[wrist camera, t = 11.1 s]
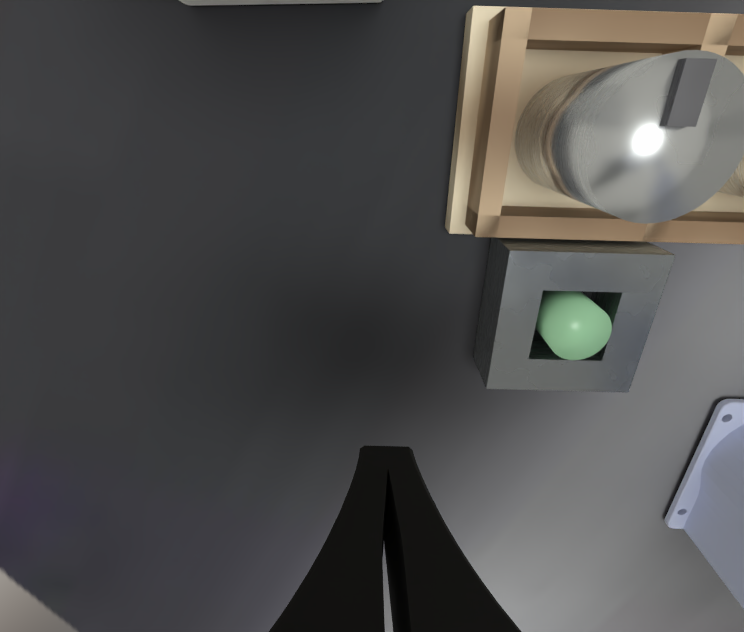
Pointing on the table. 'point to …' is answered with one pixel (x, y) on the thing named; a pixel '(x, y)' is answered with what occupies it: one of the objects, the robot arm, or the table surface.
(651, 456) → the table surface
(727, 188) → the cylinder
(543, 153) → the cylinder
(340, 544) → the robot arm
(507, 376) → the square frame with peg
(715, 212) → the wooden compartment tray
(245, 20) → the table surface
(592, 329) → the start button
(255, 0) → the milk carton
